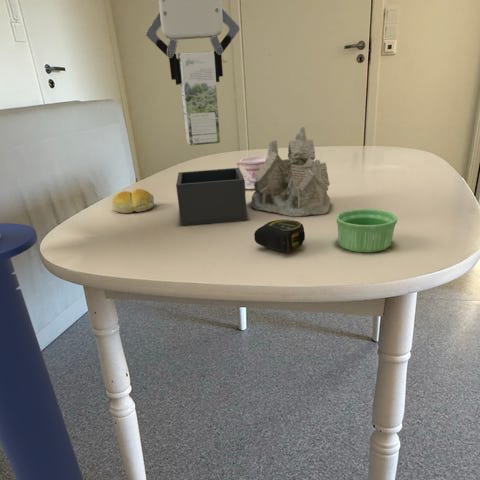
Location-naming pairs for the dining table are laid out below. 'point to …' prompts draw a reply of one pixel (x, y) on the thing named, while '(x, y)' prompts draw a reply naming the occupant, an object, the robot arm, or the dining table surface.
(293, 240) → the tape measure
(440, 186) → the dining table surface
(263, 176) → the ceramic cottage
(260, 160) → the pink white round vessel
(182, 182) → the bin
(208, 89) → the syrup box
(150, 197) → the bread roll
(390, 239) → the ramekin
